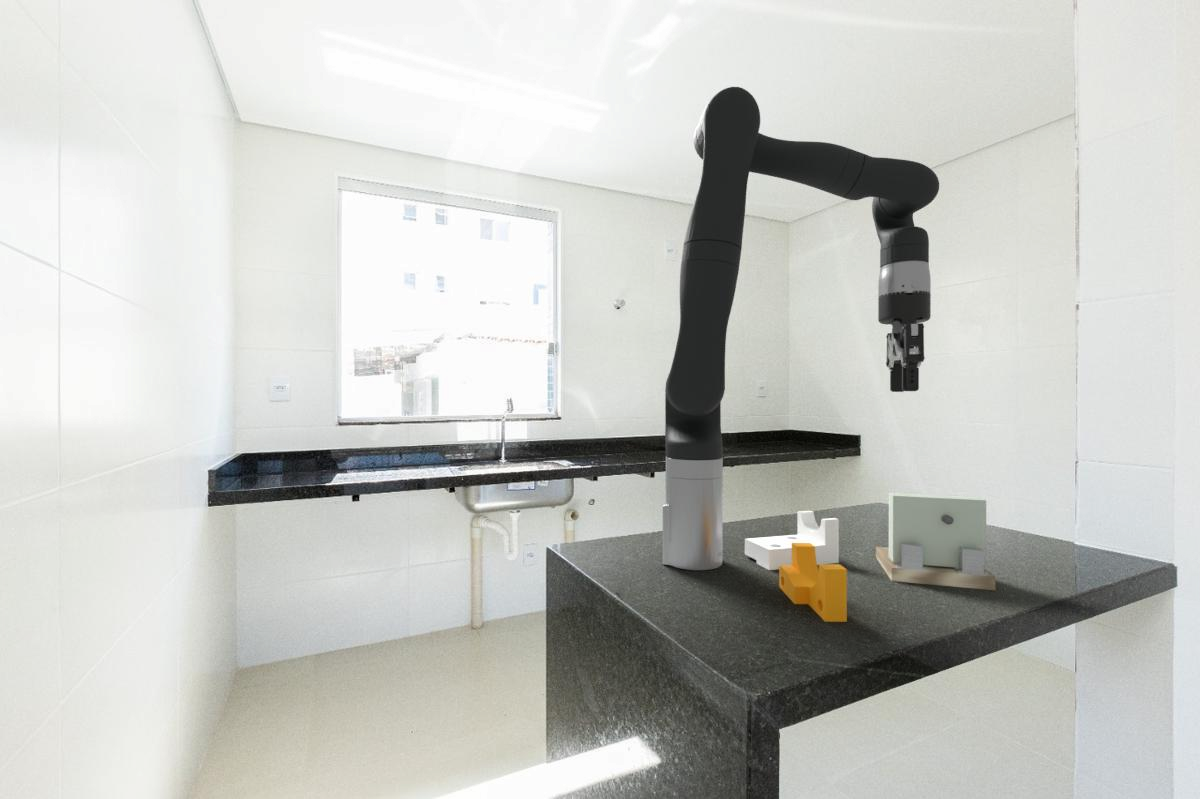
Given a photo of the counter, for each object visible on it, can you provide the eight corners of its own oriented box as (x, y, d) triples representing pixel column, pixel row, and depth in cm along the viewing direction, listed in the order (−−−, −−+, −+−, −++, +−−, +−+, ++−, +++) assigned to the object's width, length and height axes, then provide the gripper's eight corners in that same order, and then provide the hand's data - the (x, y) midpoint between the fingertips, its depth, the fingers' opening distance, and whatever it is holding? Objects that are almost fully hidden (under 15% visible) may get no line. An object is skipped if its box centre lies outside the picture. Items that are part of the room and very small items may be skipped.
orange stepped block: (779, 587, 77) (779, 542, 77) (809, 588, 77) (809, 542, 77) (810, 622, 65) (810, 569, 65) (846, 623, 65) (846, 569, 65)
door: (894, 564, 80) (894, 496, 80) (888, 556, 84) (888, 492, 84) (988, 572, 76) (989, 501, 76) (978, 563, 80) (978, 496, 80)
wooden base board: (891, 581, 79) (891, 567, 79) (875, 558, 91) (875, 546, 91) (995, 590, 75) (995, 576, 75) (965, 565, 87) (965, 553, 87)
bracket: (810, 553, 95) (810, 510, 95) (838, 565, 88) (838, 519, 88) (744, 559, 91) (744, 514, 91) (769, 572, 84) (769, 524, 84)
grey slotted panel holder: (898, 568, 79) (898, 544, 79) (888, 555, 85) (888, 533, 85) (987, 575, 76) (987, 550, 76) (970, 562, 82) (970, 539, 82)
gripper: (870, 302, 97) (870, 392, 97) (887, 286, 83) (887, 390, 83) (918, 300, 95) (917, 392, 95) (943, 283, 81) (943, 390, 81)
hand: (903, 391), depth 89 cm, fingers open, 8 cm apart
